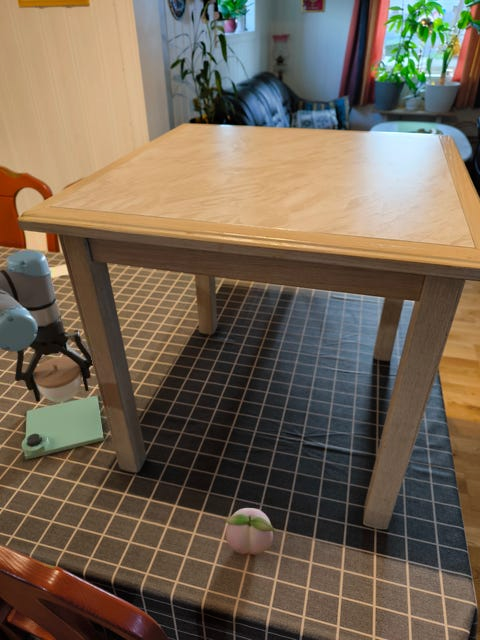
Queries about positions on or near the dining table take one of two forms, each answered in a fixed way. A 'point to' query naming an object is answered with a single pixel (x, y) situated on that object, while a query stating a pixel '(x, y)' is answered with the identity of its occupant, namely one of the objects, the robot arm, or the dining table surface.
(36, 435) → the button
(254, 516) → the decorative fruit
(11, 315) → the robot arm
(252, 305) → the dining table surface
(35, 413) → the scale
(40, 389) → the trinket box
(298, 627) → the dining table surface
